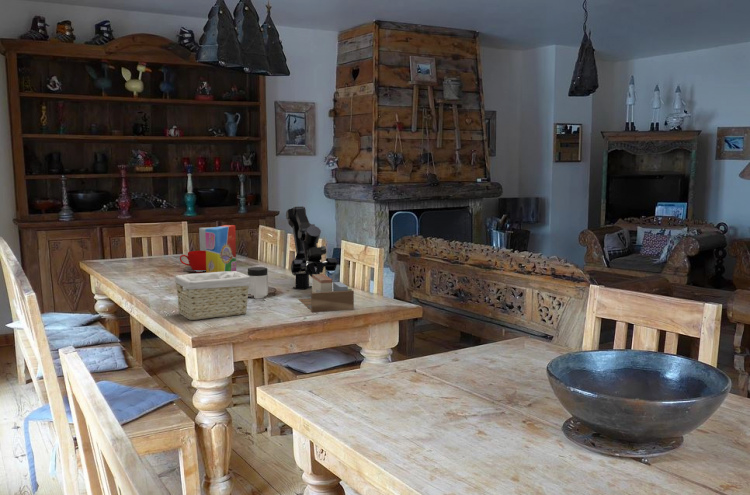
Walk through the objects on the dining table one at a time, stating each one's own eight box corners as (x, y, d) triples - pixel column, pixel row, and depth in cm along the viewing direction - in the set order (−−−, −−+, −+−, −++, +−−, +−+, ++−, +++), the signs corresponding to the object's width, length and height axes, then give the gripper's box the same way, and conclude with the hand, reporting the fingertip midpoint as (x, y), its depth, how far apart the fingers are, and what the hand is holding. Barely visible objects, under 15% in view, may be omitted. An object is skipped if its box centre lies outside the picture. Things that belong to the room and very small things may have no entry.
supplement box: (228, 258, 389) (227, 228, 387) (205, 259, 383) (205, 229, 380) (221, 255, 401) (220, 226, 398) (199, 257, 394) (198, 227, 392)
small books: (333, 303, 260) (333, 282, 259) (344, 303, 262) (344, 281, 261) (340, 309, 251) (340, 286, 250) (351, 308, 252) (351, 286, 251)
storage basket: (235, 306, 259) (235, 269, 257) (252, 314, 246) (251, 275, 244) (174, 314, 246) (173, 274, 244) (188, 323, 233) (187, 281, 231)
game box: (217, 291, 290) (216, 229, 286) (206, 290, 291) (204, 228, 287) (236, 282, 310) (235, 224, 306) (225, 282, 311) (224, 224, 308)
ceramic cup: (179, 270, 345) (179, 251, 343) (213, 269, 350) (212, 250, 348) (180, 274, 332) (179, 254, 331) (215, 272, 337) (214, 253, 336)
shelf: (298, 301, 269) (297, 282, 268) (336, 299, 274) (336, 280, 273) (312, 314, 246) (312, 293, 245) (353, 311, 251) (353, 291, 250)
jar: (243, 297, 277) (242, 268, 275) (255, 294, 284) (255, 266, 282) (260, 299, 272) (259, 270, 271) (272, 296, 280) (272, 268, 278)
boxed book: (312, 298, 270) (312, 274, 268) (323, 298, 271) (323, 273, 270) (320, 305, 257) (320, 280, 255) (332, 305, 258) (332, 279, 257)
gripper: (291, 240, 270) (297, 271, 261) (336, 238, 276) (343, 268, 267) (288, 257, 278) (294, 287, 269) (331, 255, 284) (338, 284, 275)
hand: (317, 281), depth 270 cm, fingers closed, pressing on boxed book
